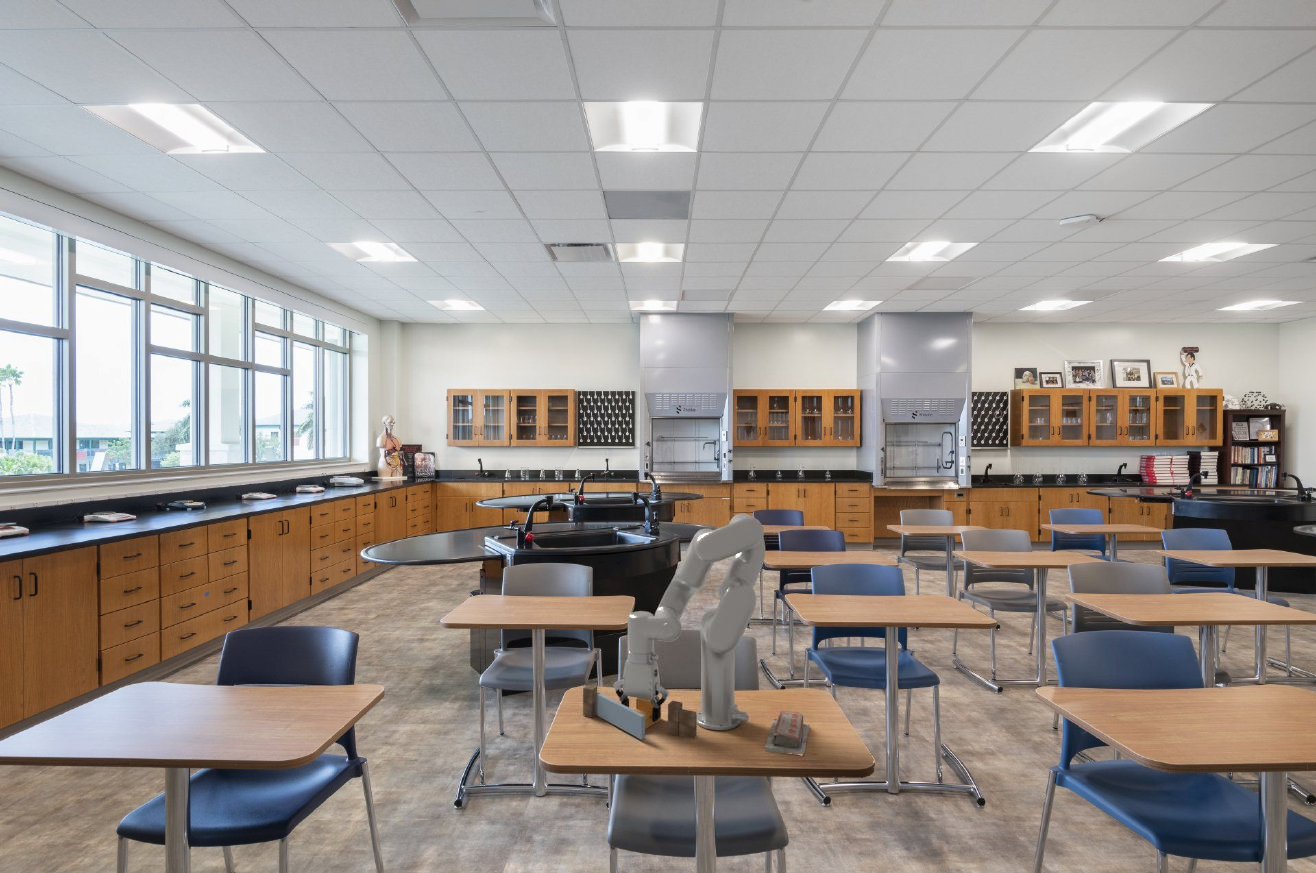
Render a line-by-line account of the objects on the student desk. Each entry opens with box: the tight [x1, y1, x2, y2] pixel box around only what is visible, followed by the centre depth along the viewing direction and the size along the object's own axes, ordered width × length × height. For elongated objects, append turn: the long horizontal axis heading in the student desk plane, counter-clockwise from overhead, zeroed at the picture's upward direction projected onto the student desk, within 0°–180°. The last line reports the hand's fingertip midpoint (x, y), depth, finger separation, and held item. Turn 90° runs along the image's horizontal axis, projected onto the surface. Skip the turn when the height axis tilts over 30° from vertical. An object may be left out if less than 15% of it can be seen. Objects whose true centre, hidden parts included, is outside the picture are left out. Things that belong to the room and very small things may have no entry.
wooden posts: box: [582, 684, 698, 739], centre depth 178 cm, size 35×3×8 cm, turn 64°
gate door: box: [595, 692, 646, 741], centre depth 176 cm, size 21×1×6 cm, turn 41°
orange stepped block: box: [634, 698, 662, 730], centre depth 179 cm, size 11×6×6 cm, turn 146°
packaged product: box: [764, 710, 810, 755], centre depth 169 cm, size 18×5×10 cm
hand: (640, 717), depth 179 cm, fingers open, 9 cm apart
